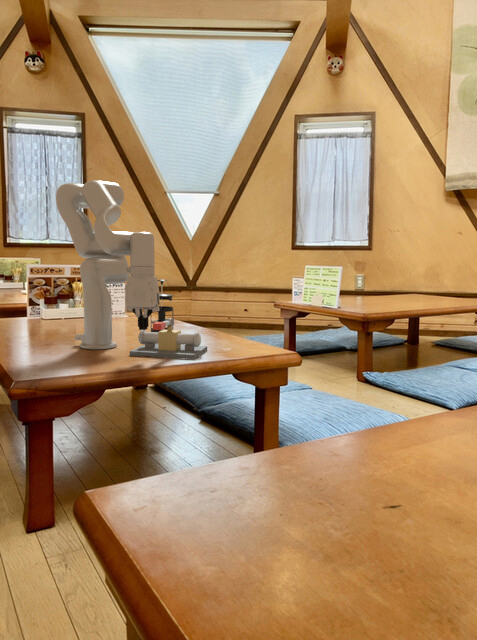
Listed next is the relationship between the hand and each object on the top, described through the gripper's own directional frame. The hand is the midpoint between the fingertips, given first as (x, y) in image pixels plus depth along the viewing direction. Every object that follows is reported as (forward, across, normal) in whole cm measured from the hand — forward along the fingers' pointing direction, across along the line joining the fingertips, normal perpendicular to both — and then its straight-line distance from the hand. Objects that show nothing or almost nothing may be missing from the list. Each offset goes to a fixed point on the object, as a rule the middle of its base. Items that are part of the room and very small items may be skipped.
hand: (143, 329), depth 168 cm
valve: (+9, +5, +10) cm, 15 cm away
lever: (0, +5, +5) cm, 7 cm away
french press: (+9, -9, +41) cm, 43 cm away
